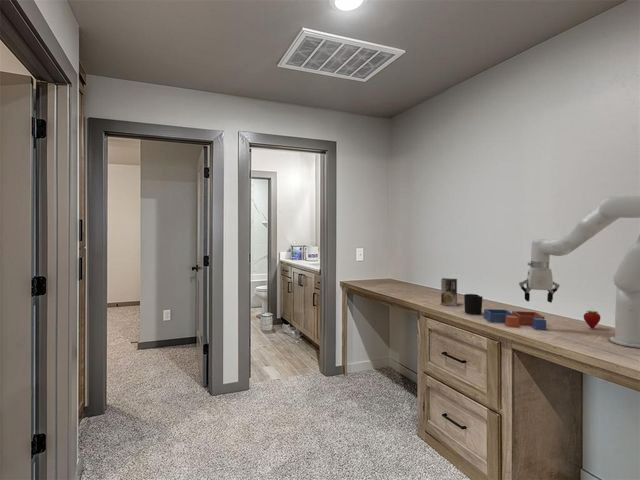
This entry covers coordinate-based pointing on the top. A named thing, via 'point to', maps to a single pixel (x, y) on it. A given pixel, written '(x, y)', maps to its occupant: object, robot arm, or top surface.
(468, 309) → the pen holder
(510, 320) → the terracotta block
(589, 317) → the strawberry
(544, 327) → the blue block
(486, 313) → the blue bin
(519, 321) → the terracotta bin
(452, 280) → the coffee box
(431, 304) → the top surface
